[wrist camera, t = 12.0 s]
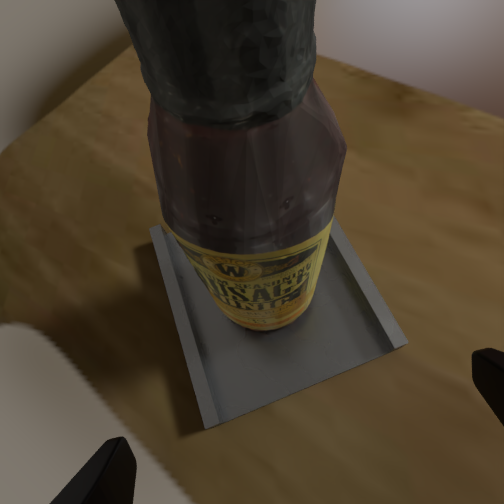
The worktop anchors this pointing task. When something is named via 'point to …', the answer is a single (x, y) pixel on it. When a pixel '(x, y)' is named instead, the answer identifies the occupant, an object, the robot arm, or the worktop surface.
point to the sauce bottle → (241, 147)
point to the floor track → (275, 333)
